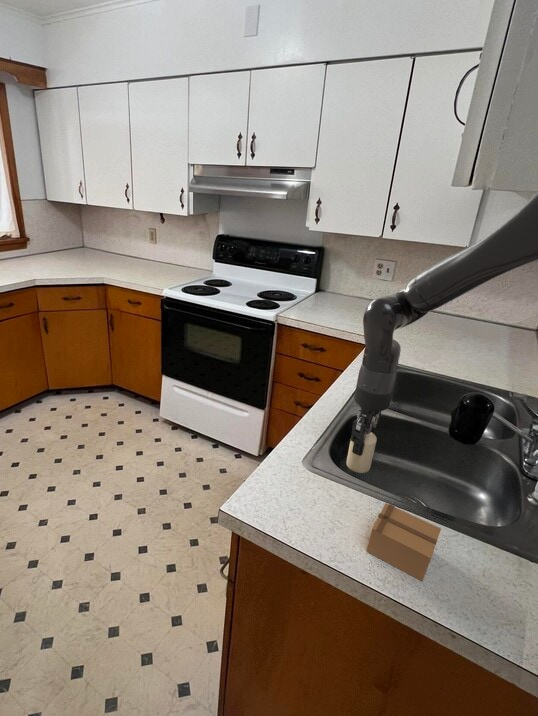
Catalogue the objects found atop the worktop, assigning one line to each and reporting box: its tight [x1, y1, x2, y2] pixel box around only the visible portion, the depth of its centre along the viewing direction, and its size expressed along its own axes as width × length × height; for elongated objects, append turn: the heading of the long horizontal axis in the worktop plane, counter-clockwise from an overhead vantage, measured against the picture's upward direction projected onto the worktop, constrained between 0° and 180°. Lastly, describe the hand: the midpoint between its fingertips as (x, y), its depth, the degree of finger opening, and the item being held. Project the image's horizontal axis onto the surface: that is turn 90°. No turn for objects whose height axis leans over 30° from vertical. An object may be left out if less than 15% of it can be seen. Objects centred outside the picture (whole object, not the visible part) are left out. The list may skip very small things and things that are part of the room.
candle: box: [346, 432, 378, 474], centre depth 100 cm, size 6×6×10 cm
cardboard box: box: [366, 502, 442, 582], centre depth 79 cm, size 10×8×6 cm
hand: (361, 446), depth 99 cm, fingers closed on candle, 5 cm apart
